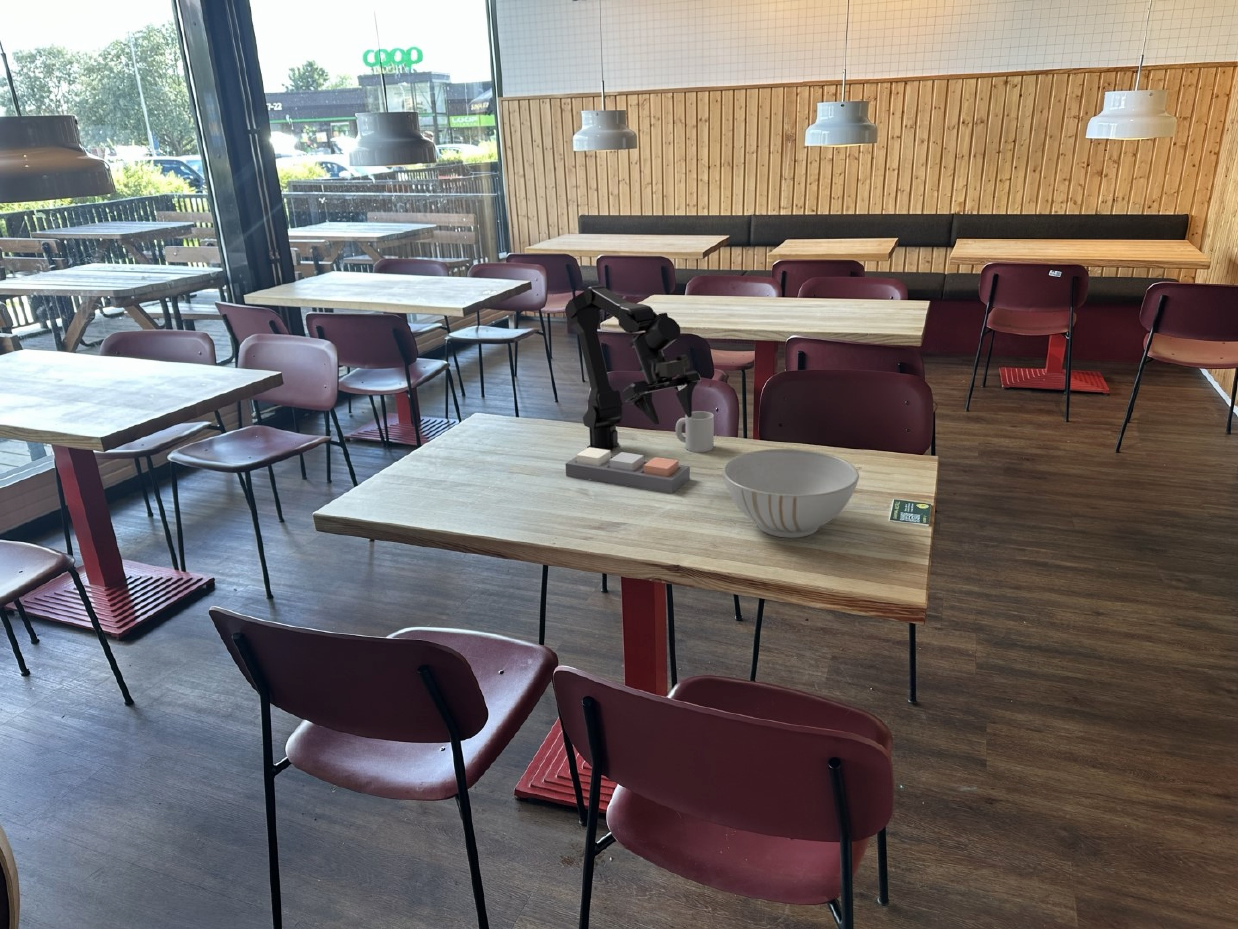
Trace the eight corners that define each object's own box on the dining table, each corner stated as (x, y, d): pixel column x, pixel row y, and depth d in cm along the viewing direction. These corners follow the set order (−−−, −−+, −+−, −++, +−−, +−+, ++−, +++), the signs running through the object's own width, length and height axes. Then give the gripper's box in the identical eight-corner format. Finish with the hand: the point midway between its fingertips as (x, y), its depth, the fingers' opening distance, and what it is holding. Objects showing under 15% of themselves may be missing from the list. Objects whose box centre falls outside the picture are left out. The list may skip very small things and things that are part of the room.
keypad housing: (566, 475, 210) (565, 463, 209) (586, 462, 218) (586, 450, 217) (671, 493, 197) (671, 480, 196) (689, 478, 206) (689, 466, 205)
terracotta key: (643, 474, 202) (643, 465, 201) (655, 466, 207) (655, 457, 206) (667, 478, 199) (667, 468, 198) (678, 470, 204) (678, 460, 203)
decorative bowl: (755, 563, 164) (756, 503, 160) (702, 510, 188) (703, 457, 184) (881, 542, 171) (886, 484, 167) (815, 493, 195) (817, 442, 191)
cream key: (576, 464, 210) (576, 454, 209) (589, 456, 215) (589, 447, 214) (598, 467, 207) (598, 458, 206) (610, 459, 212) (610, 450, 211)
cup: (709, 453, 222) (709, 420, 219) (671, 450, 225) (671, 417, 222) (716, 445, 228) (716, 412, 225) (679, 441, 231) (679, 409, 228)
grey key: (609, 469, 206) (609, 459, 205) (621, 461, 211) (621, 452, 210) (632, 473, 203) (632, 463, 202) (643, 464, 208) (643, 455, 207)
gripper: (634, 350, 190) (657, 417, 188) (702, 338, 199) (725, 401, 197) (611, 369, 199) (633, 432, 197) (677, 356, 209) (699, 417, 207)
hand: (674, 420), depth 199 cm, fingers open, 9 cm apart
